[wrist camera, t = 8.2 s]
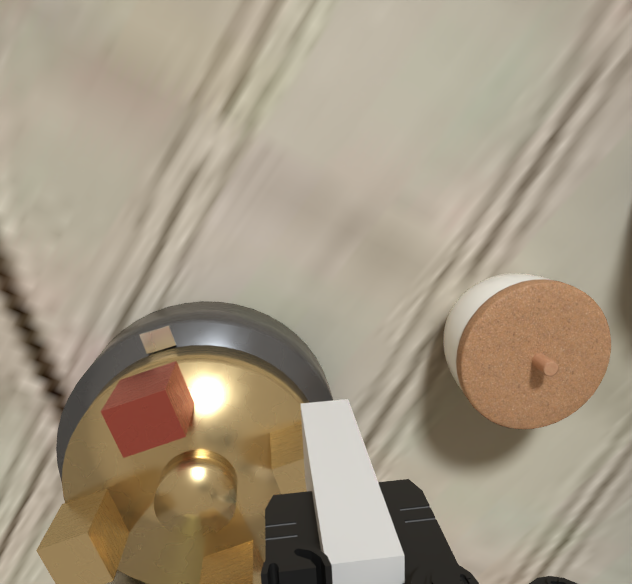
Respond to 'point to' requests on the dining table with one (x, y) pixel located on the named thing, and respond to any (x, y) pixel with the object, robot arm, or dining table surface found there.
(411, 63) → the dining table surface
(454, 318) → the lidded jar
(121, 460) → the ring nut
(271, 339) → the base
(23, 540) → the dining table surface
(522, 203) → the dining table surface
